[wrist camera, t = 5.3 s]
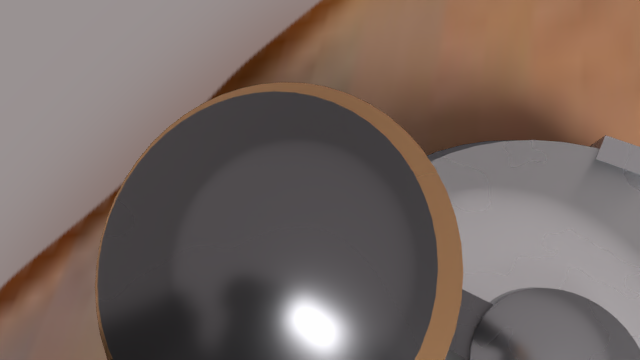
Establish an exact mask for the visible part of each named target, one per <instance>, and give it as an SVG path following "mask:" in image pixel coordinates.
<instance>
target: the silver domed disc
mask: <svg viewBox="0 0 640 360" xmlns="http://www.w3.org/2000/svg"><path fill="white" fill-rule="evenodd" d="M95 294H96V312H97V318H98V324H99V330H100V336H101V339H102V342H103V346H104V349H105V353H106V356H107V359H108V360H640V147H638V146H635V145H632V144H629V143H626V142H623V141H620V140H617V139H615V138H612V137H609V136H606V135H605V136H604V137H602V138H601V139H599V140H598V141H597V142H595V143H594V144H592V145H591V146H583V145H577V144H572V143H566V142H555V141H541V140H522V141H503V142H497V143H491V144H484V145H478V146H474V147H470V148H467V149H463V150H460V151H456V152H453V153H450V154H447V155H445V156H442V157H440V158H438V159H435V160H433V161H430V160H429V159H428V157H427V156H426V154H425V153H424V151H423V150H422V148H421V147H420V146H419V145H418V144H417V143H416V142H415V141H414V140H413V138H412V137H411V136H410V135H409V134H408V133H407V132H406V131H405V130H404V129H403V128H402V127H401V126H400V125H398V124H397V123H396V122H395V121H394V120H392V119H391V118H390V117H389V116H388V115H386V114H385V113H383V112H382V111H380V110H378V109H377V108H375V107H374V106H372V105H370V104H369V103H367V102H365V101H363V100H361V99H359V98H356V97H354V96H352V95H350V94H348V93H345V92H342V91H338V90H335V89H332V88H328V87H325V86H319V85H313V84H307V83H291V82H279V83H267V84H259V85H254V86H250V87H245V88H241V89H238V90H235V91H232V92H229V93H226V94H223V95H220V96H218V97H216V98H214V99H212V100H209V101H207V102H205V103H203V104H201V105H200V106H198V107H196V108H195V109H193V110H192V111H190V112H188V113H187V114H185V115H183V116H182V117H181V118H180V119H178V120H177V121H176V122H175V123H173V124H172V125H171V126H169V127H168V128H167V129H166V130H165V131H164V132H163V133H162V134H161V135H160V136H159V137H158V138H157V139H155V141H153V142H152V143H151V145H150V146H149V147H148V149H146V151H145V152H144V153H143V154H142V155H141V157H140V158H139V159H138V160H137V162H136V163H135V165H134V166H133V168H132V169H131V171H130V172H129V174H128V175H127V177H126V178H125V180H124V182H123V184H122V186H121V188H120V190H119V191H118V193H117V195H116V197H115V200H114V202H113V204H112V207H111V209H110V212H109V214H108V217H107V220H106V223H105V227H104V230H103V234H102V237H101V241H100V247H99V253H98V258H97V265H96V282H95Z"/></svg>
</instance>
